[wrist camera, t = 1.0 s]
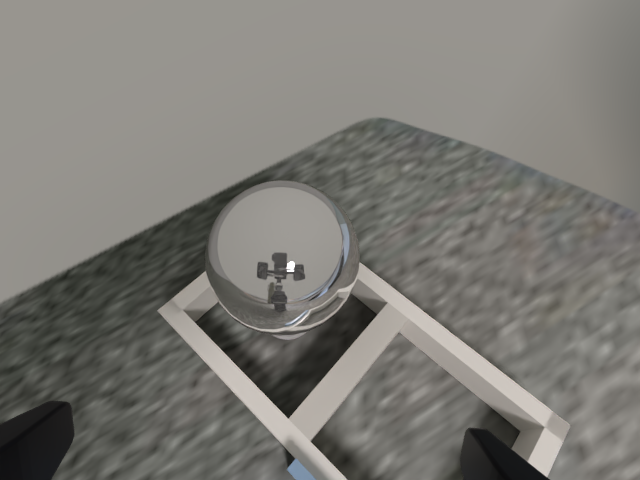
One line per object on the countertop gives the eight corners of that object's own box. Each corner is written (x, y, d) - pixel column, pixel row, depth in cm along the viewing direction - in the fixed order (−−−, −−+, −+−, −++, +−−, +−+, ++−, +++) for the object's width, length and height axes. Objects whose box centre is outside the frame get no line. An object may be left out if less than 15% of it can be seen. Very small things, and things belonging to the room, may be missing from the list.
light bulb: (217, 360, 23) (151, 269, 12) (254, 262, 26) (226, 131, 16) (328, 389, 22) (353, 319, 12) (350, 285, 26) (384, 164, 16)
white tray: (441, 636, 17) (472, 672, 14) (162, 331, 23) (142, 311, 20) (543, 429, 21) (583, 423, 19) (287, 225, 28) (285, 195, 25)
